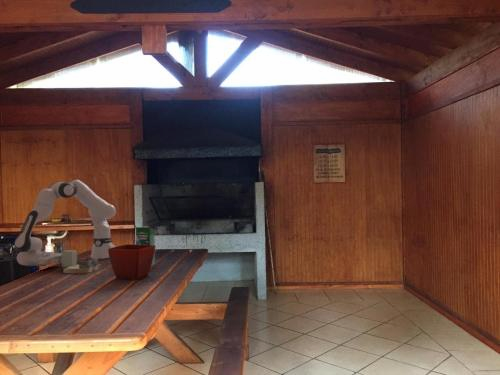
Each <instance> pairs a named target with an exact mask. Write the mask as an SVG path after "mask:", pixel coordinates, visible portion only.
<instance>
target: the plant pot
mask: <svg viewBox="0 0 500 375" xmlns="http://www.w3.org/2000/svg"><path fill="white" fill-rule="evenodd" d="M155 251H156V244H155V245H136V244H123V245H118V246H116V247H113V248H109V249H108V252H109V257H110V258H109V260H110V264H111V268H112V271H113V274H114V275H115V278H116V279H119V280H120V279H121V280H132V281H133V280H134V281H135V280H139V279H141V278H144V277H147V276H148V275H149V273H150V270H151V267H152V266H151V264H152V261H153V256H154V252H155Z"/></svg>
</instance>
